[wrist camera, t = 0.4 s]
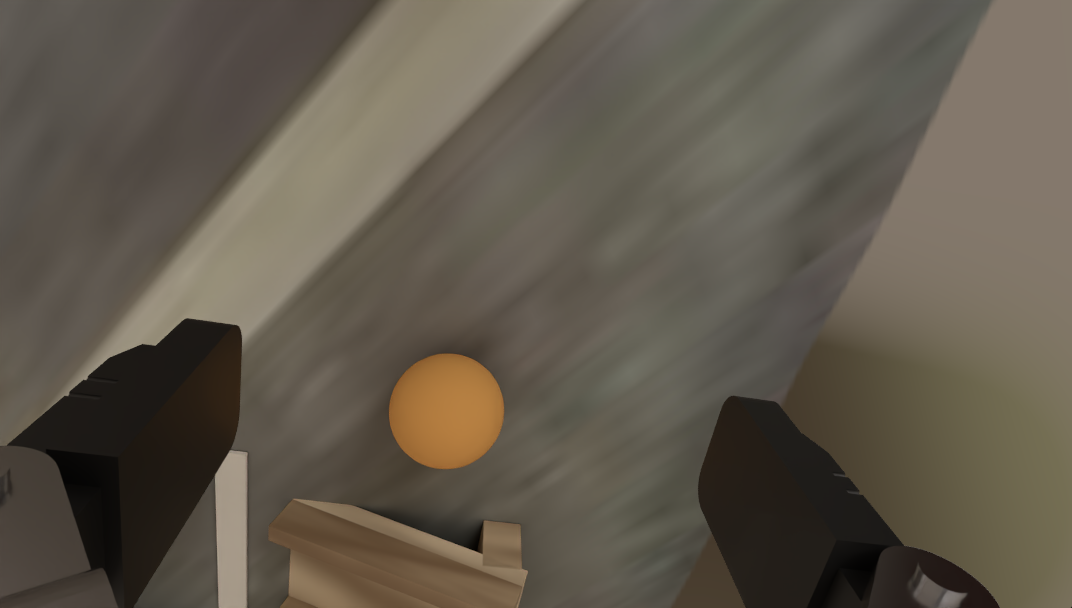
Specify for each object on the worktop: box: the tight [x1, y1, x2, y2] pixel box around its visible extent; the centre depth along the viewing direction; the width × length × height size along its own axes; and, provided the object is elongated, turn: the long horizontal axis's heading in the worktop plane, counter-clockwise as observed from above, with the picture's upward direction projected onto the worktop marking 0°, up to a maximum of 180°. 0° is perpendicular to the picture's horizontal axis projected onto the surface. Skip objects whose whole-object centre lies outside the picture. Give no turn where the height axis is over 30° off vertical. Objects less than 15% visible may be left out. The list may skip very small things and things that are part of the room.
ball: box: [389, 354, 504, 469], centre depth 29 cm, size 5×5×5 cm
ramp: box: [269, 499, 528, 608], centre depth 35 cm, size 8×13×7 cm, turn 79°
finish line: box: [215, 450, 248, 608], centre depth 36 cm, size 14×2×1 cm, turn 169°
